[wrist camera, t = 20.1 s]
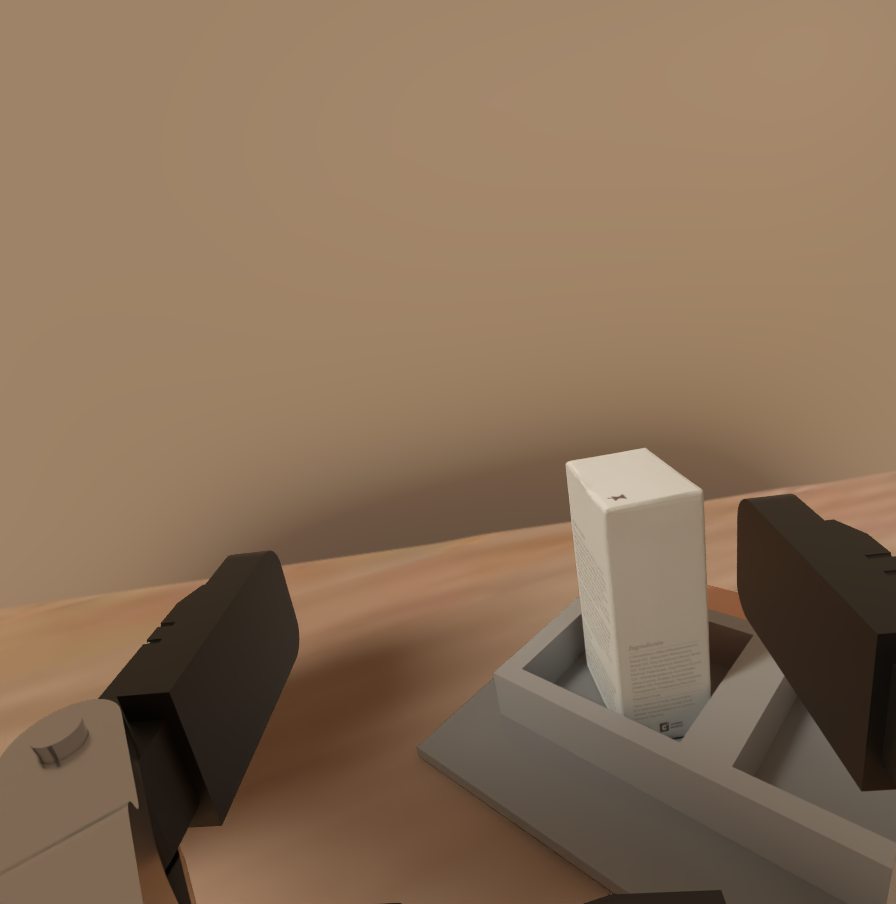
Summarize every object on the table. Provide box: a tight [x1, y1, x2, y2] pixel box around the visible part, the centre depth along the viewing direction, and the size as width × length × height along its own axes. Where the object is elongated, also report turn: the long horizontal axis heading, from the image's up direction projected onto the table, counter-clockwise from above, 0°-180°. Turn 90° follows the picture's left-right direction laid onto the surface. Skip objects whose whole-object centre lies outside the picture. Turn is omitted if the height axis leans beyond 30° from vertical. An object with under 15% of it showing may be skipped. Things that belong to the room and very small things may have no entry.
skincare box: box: [566, 448, 711, 739], centre depth 28 cm, size 6×4×12 cm
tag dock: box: [417, 585, 896, 904], centre depth 26 cm, size 24×18×3 cm
